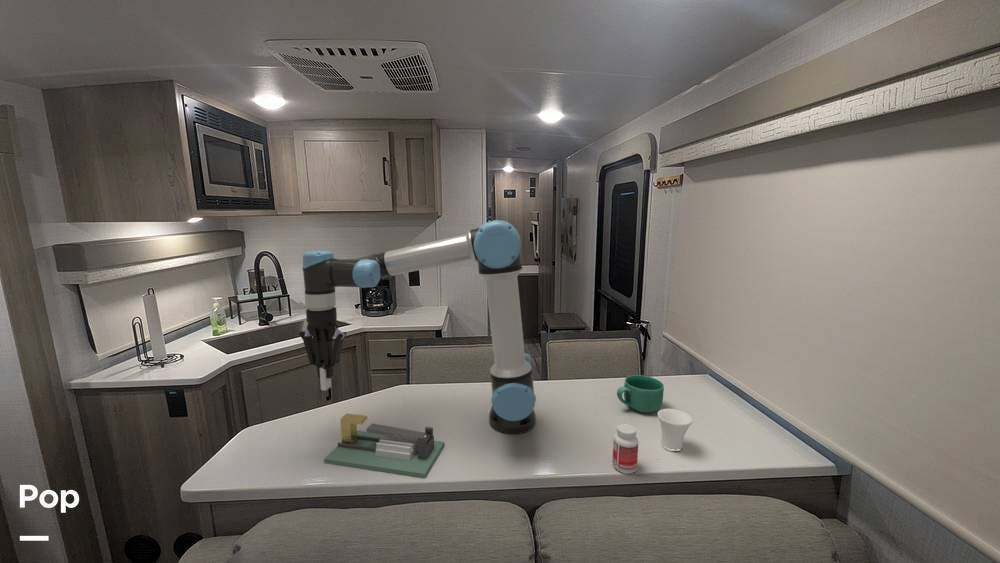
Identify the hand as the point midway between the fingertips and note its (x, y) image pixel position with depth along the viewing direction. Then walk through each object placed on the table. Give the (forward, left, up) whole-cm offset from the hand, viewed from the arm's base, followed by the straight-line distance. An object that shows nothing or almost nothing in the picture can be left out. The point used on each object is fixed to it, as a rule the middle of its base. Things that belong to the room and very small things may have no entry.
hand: (326, 388), depth 104 cm
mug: (-91, -41, -18) cm, 101 cm away
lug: (-8, 0, -16) cm, 18 cm away
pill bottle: (-83, -7, -18) cm, 85 cm away
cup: (-97, -19, -18) cm, 101 cm away
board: (-18, +1, -17) cm, 25 cm away
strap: (-22, 0, -12) cm, 25 cm away
